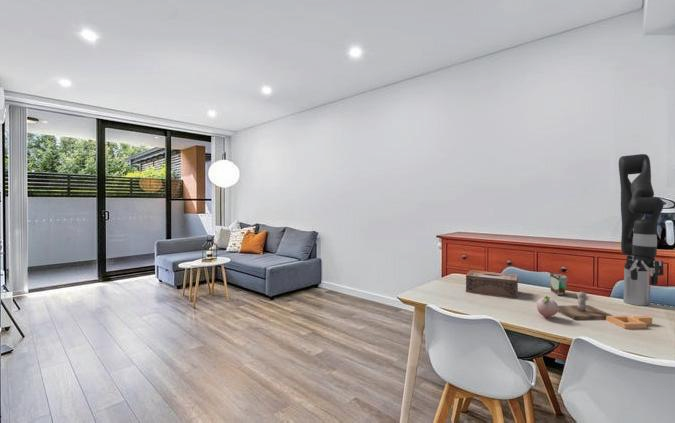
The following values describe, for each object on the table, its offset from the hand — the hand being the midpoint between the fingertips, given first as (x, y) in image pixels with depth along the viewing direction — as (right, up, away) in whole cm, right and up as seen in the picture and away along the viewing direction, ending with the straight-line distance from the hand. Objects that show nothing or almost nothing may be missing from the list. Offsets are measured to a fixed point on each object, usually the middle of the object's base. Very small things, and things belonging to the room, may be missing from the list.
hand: (643, 282), depth 139 cm
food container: (-5, -16, +45) cm, 48 cm away
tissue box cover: (-41, -17, +50) cm, 67 cm away
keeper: (-16, -18, +13) cm, 27 cm away
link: (-4, -18, +1) cm, 19 cm away
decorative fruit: (-35, -18, +9) cm, 41 cm away
